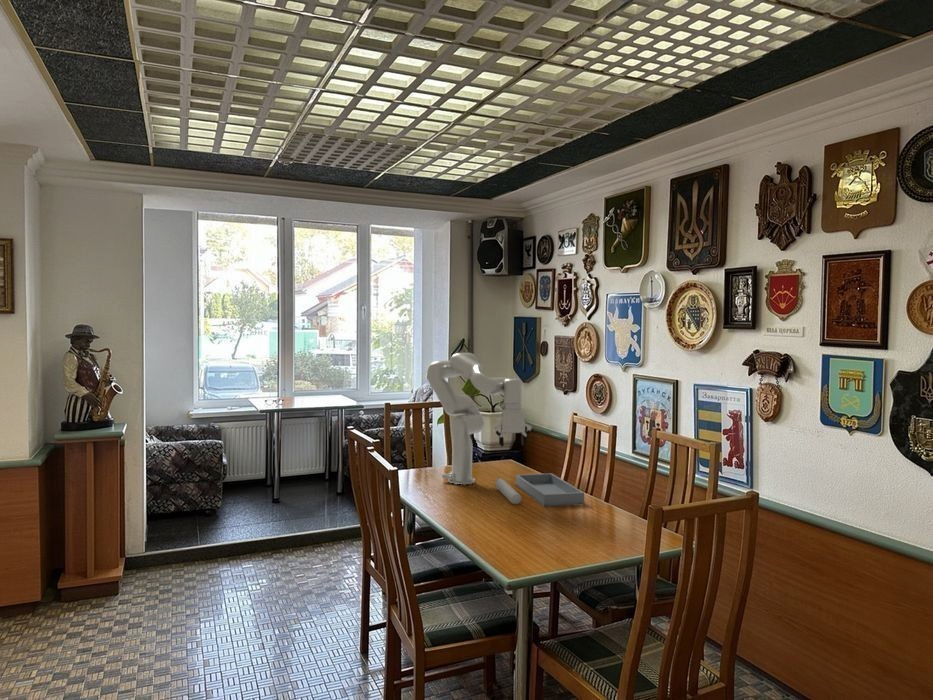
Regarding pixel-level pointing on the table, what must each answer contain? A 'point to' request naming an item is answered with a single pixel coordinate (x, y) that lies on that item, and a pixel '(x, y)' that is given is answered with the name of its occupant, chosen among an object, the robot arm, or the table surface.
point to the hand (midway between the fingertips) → (512, 445)
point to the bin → (549, 489)
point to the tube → (508, 491)
